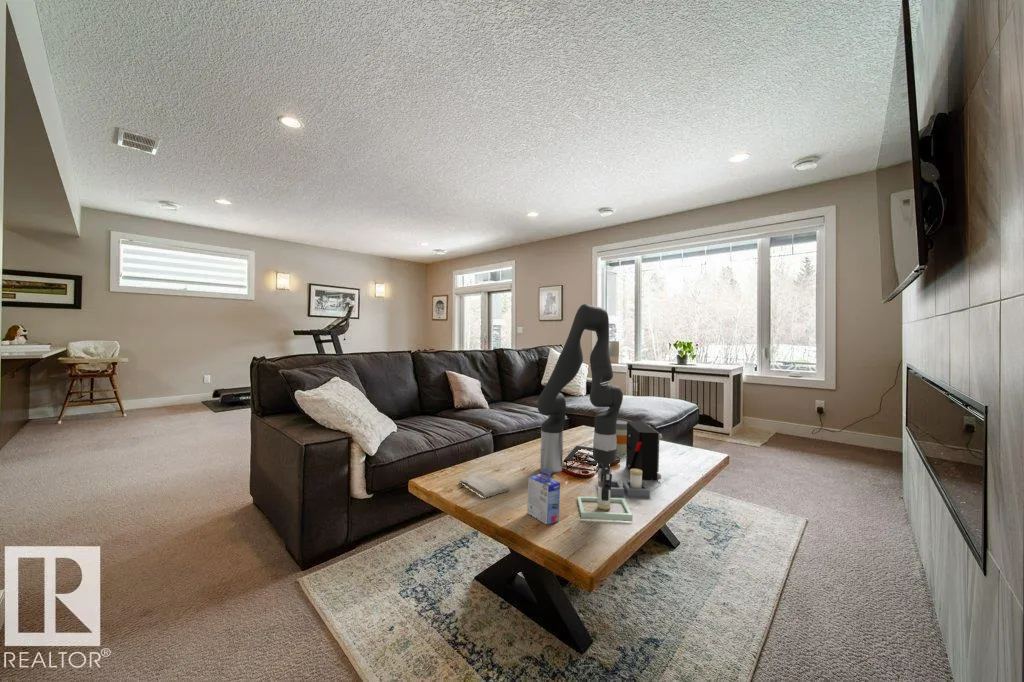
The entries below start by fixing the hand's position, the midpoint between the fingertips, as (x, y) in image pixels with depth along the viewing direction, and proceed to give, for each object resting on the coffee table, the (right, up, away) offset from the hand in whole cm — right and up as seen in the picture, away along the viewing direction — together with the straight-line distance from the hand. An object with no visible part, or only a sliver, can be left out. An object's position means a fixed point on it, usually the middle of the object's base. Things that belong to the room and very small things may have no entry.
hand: (603, 497), depth 127 cm
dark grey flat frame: (+3, -4, +51) cm, 51 cm away
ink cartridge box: (-20, -5, -5) cm, 21 cm away
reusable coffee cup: (+23, -4, +65) cm, 69 cm away
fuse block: (+10, -5, +13) cm, 17 cm away
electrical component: (+24, -4, +34) cm, 42 cm away
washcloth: (-41, -4, +18) cm, 45 cm away
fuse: (0, -3, 0) cm, 3 cm away
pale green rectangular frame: (0, -5, 0) cm, 5 cm away
